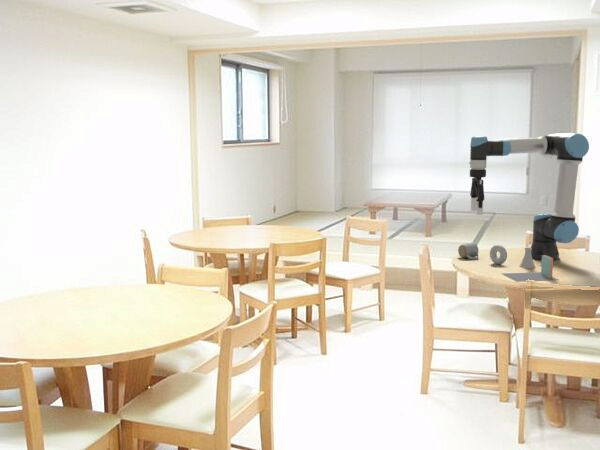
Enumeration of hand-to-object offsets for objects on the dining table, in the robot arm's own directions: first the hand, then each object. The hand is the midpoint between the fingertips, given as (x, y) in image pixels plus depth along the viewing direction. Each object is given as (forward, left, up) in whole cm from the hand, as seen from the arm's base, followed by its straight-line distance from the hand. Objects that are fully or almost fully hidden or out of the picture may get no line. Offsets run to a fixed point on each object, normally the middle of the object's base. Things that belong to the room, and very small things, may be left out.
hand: (476, 212), depth 310 cm
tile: (-23, +27, -26) cm, 44 cm away
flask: (-24, +7, -27) cm, 37 cm away
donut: (-14, -4, -27) cm, 31 cm away
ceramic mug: (-6, -22, -27) cm, 35 cm away
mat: (-15, +27, -27) cm, 41 cm away
